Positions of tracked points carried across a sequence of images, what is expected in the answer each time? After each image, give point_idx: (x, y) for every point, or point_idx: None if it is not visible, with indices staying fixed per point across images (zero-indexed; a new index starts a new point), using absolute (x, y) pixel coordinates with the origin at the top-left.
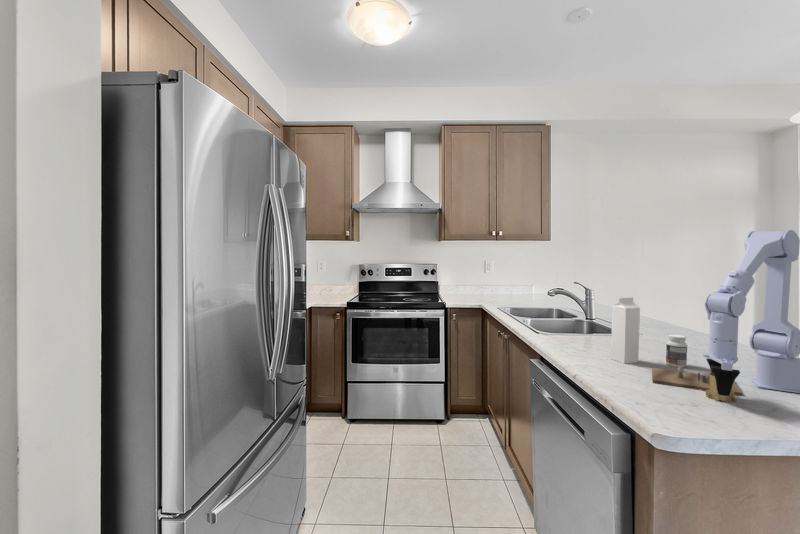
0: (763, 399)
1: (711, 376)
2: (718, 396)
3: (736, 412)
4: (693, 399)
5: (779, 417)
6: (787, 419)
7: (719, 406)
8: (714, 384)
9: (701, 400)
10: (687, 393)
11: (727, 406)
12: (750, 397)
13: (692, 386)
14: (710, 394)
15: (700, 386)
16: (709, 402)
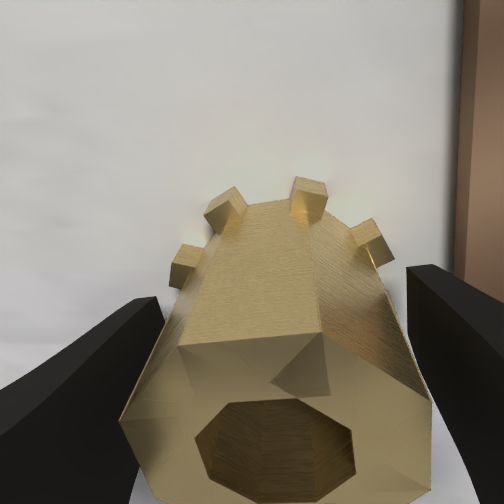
0: (438, 466)
1: (176, 344)
2: (172, 284)
3: (31, 347)
4: (66, 96)
5: (137, 482)
6: (135, 499)
7: (61, 271)
8: (176, 312)
9: (97, 158)
10: (224, 16)
11: (108, 311)
12: (441, 420)
13: (474, 38)
14: (215, 226)
15: (493, 123)
16: (97, 213)
